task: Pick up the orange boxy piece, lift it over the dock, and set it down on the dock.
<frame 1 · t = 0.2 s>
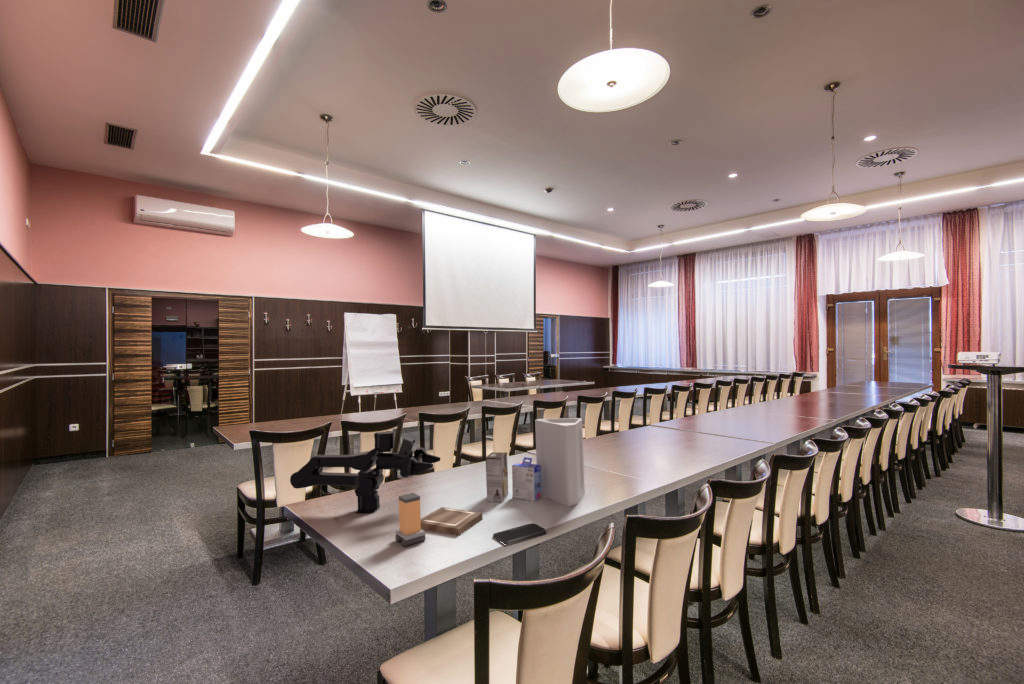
hand: (436, 462, 157), 17 cm above the table, tool horizontal, fingers open, 9 cm apart
phone: (520, 536, 134), on the table
coffee box: (497, 498, 168), on the table
dock: (449, 523, 144), on the table
orange boxy piece: (410, 540, 132), on the table
grey tall rounded piece: (567, 496, 169), on the table
ink cartridge box: (527, 498, 168), on the table
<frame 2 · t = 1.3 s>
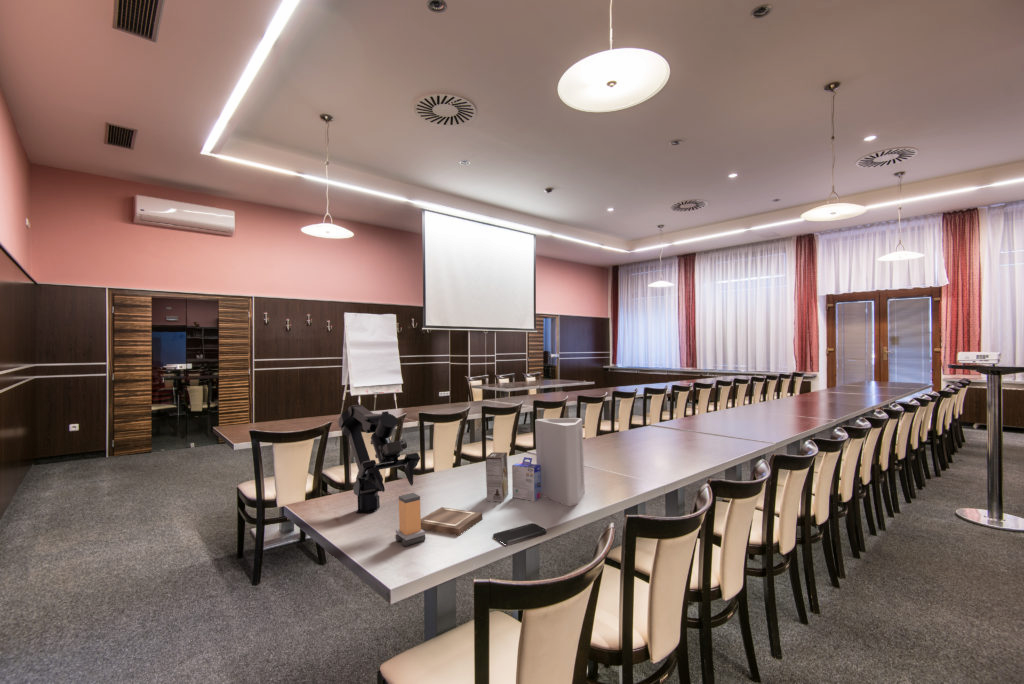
hand: (398, 487, 139), 14 cm above the table, tool tilted 45°, fingers open, 9 cm apart
nothing on the table moved.
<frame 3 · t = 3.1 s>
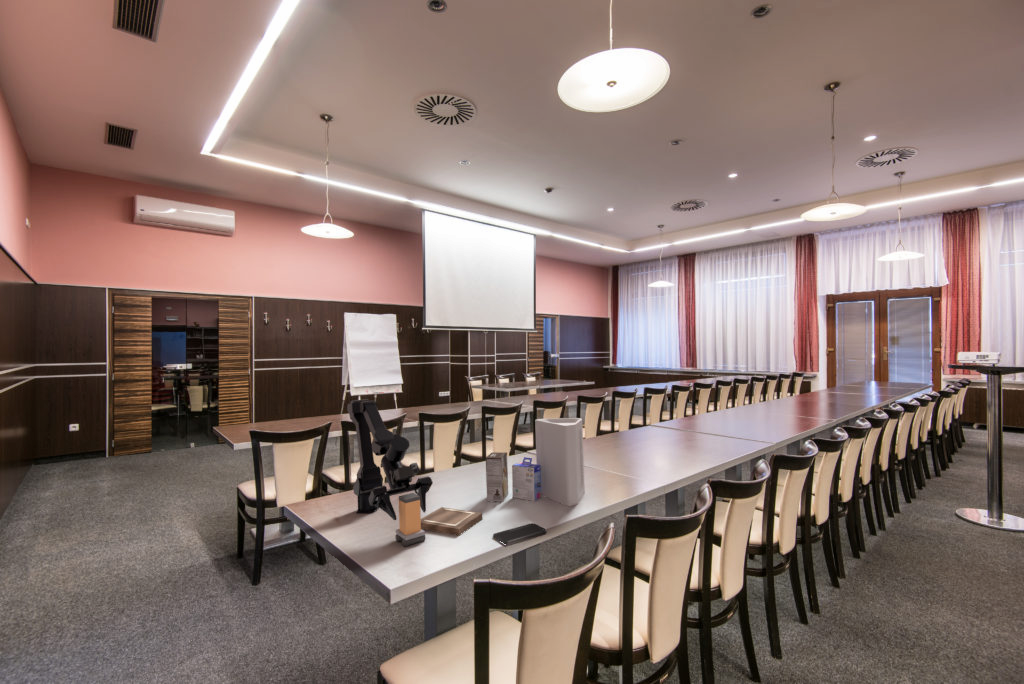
hand: (410, 515, 132), 7 cm above the table, tool tilted 45°, fingers open, 9 cm apart
nothing on the table moved.
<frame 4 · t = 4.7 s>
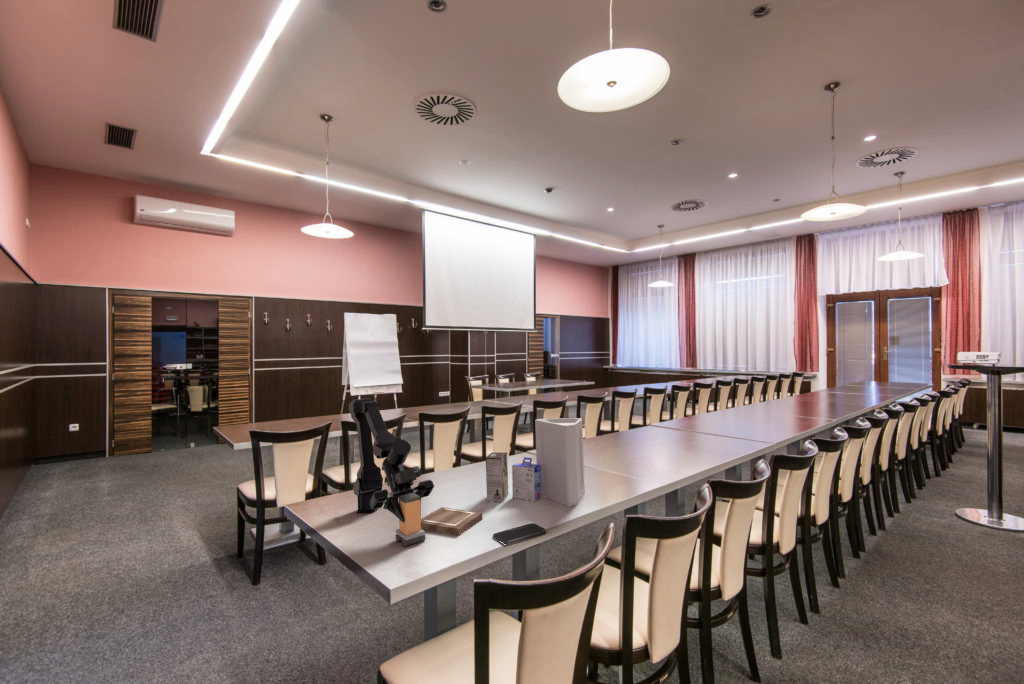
hand: (411, 519, 131), 7 cm above the table, tool tilted 45°, fingers closed on orange boxy piece, 5 cm apart
orange boxy piece: (410, 540, 132), on the table, touching gripper
everything else where it was.
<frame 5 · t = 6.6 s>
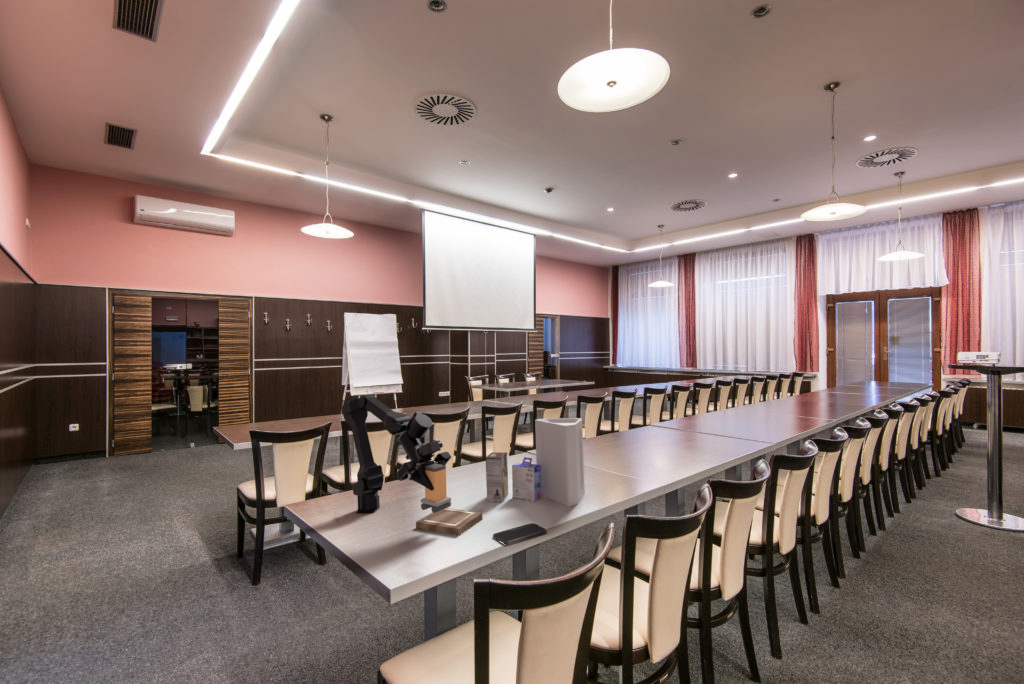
hand: (438, 487, 138), 13 cm above the table, tool tilted 45°, fingers closed on orange boxy piece, 5 cm apart
orange boxy piece: (436, 508, 139), point 7 cm above the table, touching gripper
everything else where it was.
when the fingers open (10 cm above the table, at t = 8.7 s): orange boxy piece drops 1 cm, resting on dock.
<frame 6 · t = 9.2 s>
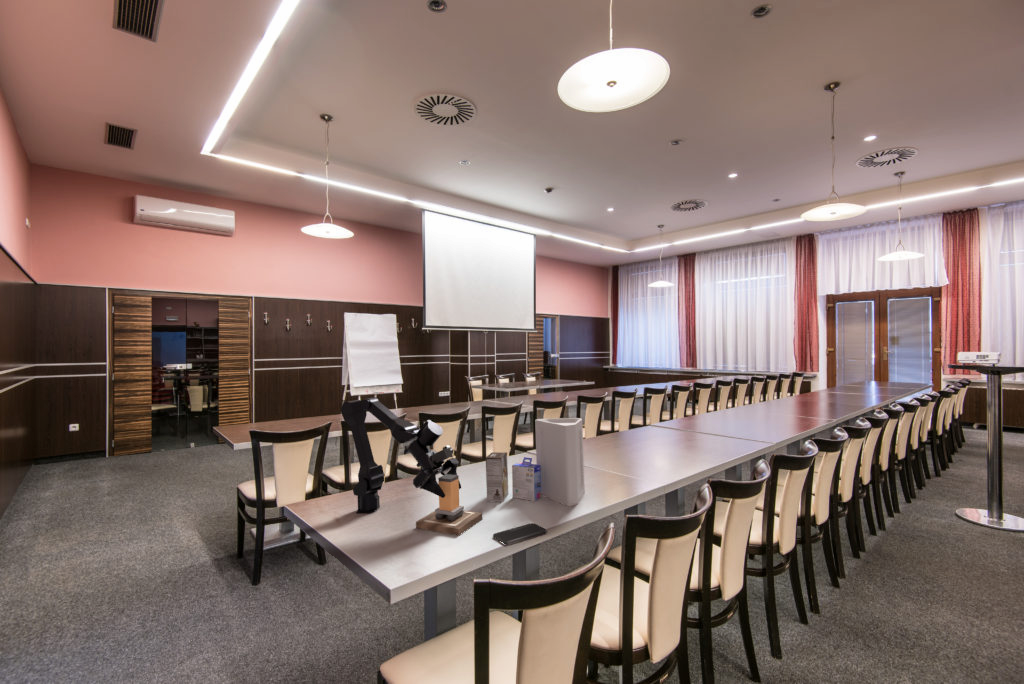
hand: (452, 492, 144), 10 cm above the table, tool tilted 45°, fingers open, 9 cm apart
orange boxy piece: (449, 517, 144), point 2 cm above the table, touching dock
everything else where it was.
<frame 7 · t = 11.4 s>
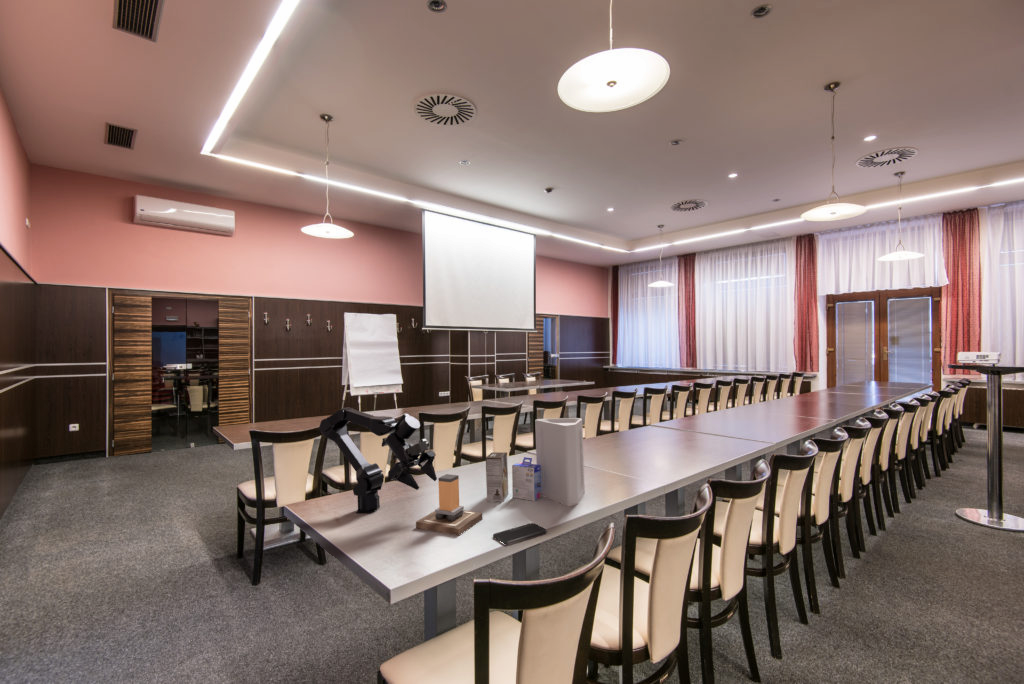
hand: (427, 484, 149), 12 cm above the table, tool tilted 45°, fingers open, 9 cm apart
nothing on the table moved.
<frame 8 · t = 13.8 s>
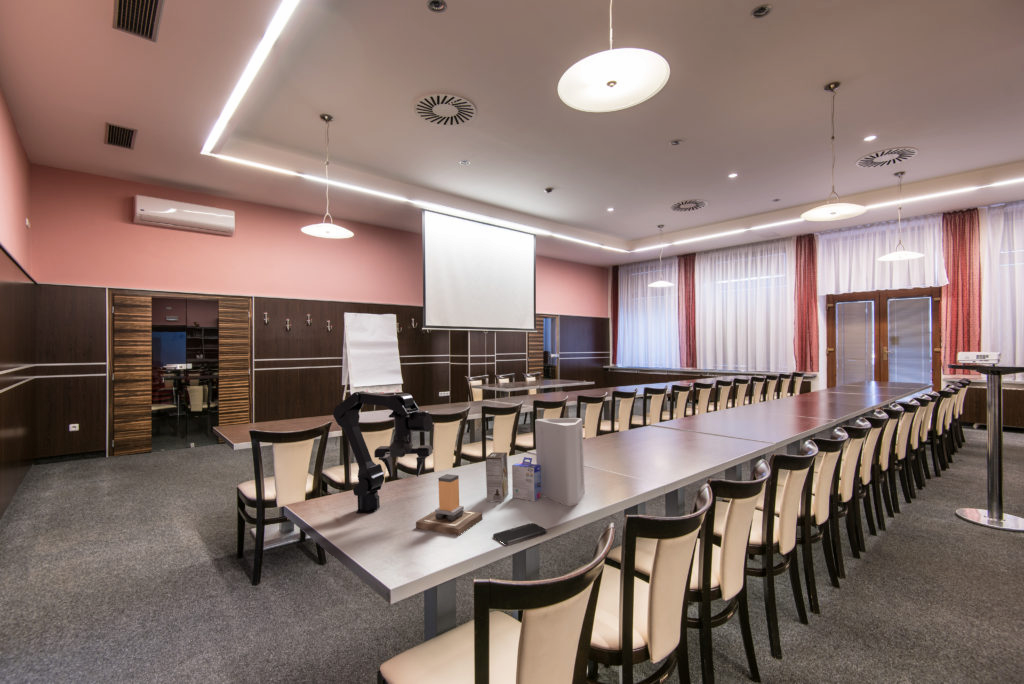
hand: (404, 476, 154), 13 cm above the table, tool pointing down, fingers open, 9 cm apart
nothing on the table moved.
at the end: orange boxy piece inside the target area on the dock (0.0 cm from its centre), point 2.0 cm above the dock's base; orange boxy piece tilted 0°; the gripper is holding nothing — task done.
